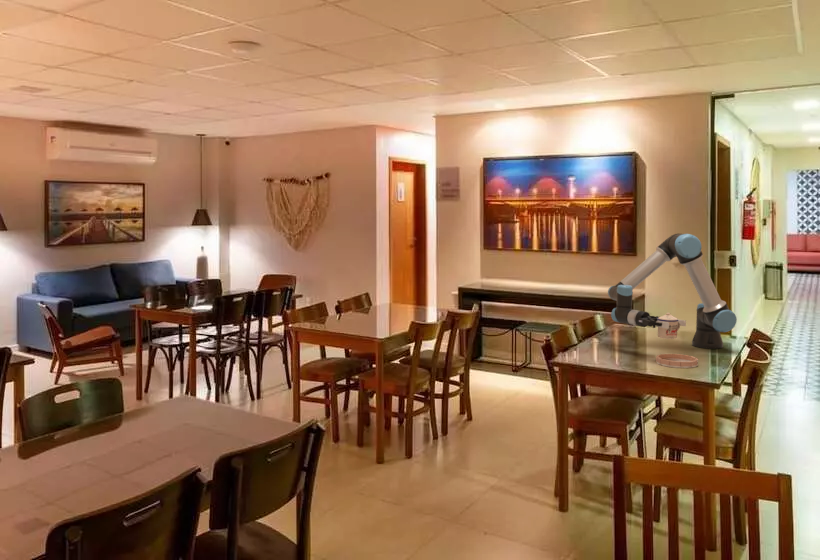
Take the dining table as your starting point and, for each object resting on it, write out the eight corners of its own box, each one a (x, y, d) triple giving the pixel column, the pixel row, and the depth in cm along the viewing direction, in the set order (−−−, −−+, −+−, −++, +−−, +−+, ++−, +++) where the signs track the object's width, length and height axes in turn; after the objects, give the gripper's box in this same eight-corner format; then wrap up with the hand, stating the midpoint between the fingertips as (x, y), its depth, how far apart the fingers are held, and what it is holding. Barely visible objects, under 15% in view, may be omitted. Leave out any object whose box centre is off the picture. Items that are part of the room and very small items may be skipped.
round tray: (671, 358, 326) (671, 352, 326) (705, 364, 311) (705, 359, 311) (648, 362, 316) (648, 356, 316) (682, 369, 301) (682, 363, 301)
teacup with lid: (667, 339, 312) (668, 314, 310) (652, 336, 320) (653, 312, 319) (686, 337, 316) (687, 313, 315) (671, 334, 325) (672, 310, 324)
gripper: (654, 323, 339) (692, 330, 321) (622, 327, 327) (660, 334, 308) (655, 309, 339) (693, 314, 320) (623, 312, 326) (660, 318, 308)
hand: (677, 324), depth 314 cm, fingers closed on teacup with lid, 12 cm apart
